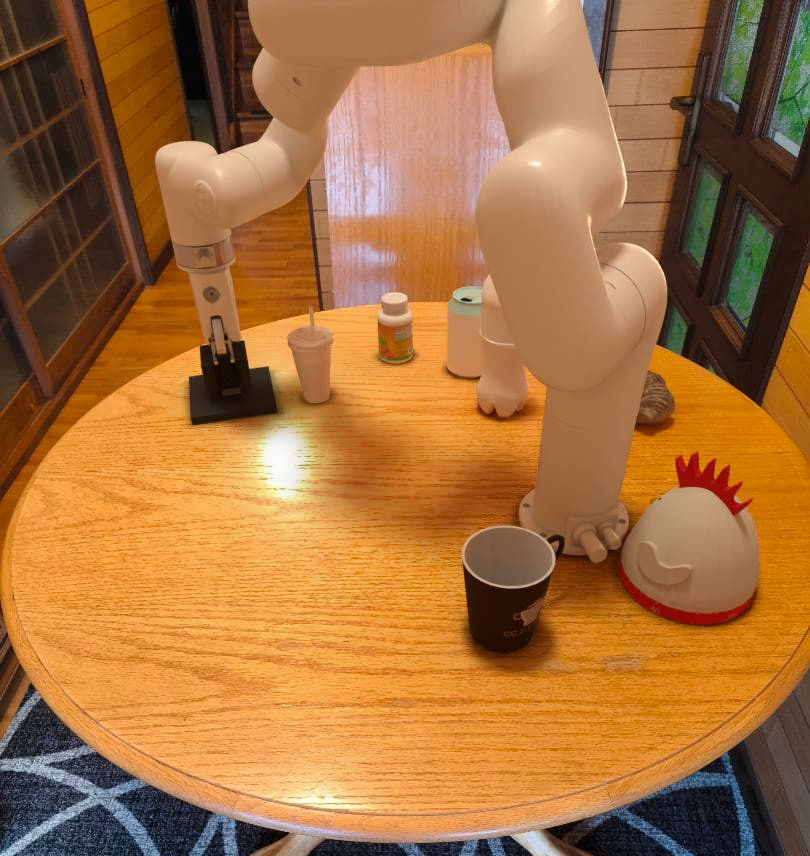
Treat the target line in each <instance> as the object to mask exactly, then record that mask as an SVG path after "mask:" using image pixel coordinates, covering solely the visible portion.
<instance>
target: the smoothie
mask: <svg viewBox="0 0 810 856" xmlns="http://www.w3.org/2000/svg"><path fill="white" fill-rule="evenodd" d="M308 312H309V313H308V314H309V322H310V325H305V326H301V327H298V328H295V329H293V330H292V331H290V332H289V333H288V334H287V339H286V340H287V347H289V349H290V350H291V353H292V354H291V355H292V357H293V361H294V365H295V369H296V373H297V377H298V380H299V385H300V388H301V392H302V396H303V399H304V401H305V402H307V403H309V404H321V403H324V402H326V401H328V400H329V399H330V387H331V386H330V385H331V364H332V363H331V361H332V357H331V356H332V345H333V344H334V341H335V340H334V334H333V332H332V330H330V329H328V328H326V327H324V326H319V325H315V324H316V323H315V315H314V314H315V313H314V305H312V304H309V305H308Z"/></svg>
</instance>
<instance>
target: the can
mask: <svg viewBox="0 0 810 856" xmlns="http://www.w3.org/2000/svg"><path fill="white" fill-rule="evenodd" d="M482 288H483V286H477V285H470V286H469V285H467V286H462V287H458V288H457V289H455V290H454V291H453V292H452V294H451V295H452V296H451V298H450V300H449V301H448V303H447V319H446V320H447V323H446V325H447V326H446V327H447V328H446V329H447V330H446V368H447V370H449V372H451V374H454V375H455V376H458V377H460V378H464V379H474V378H479V377H480V378H481V374H482V370H483V346H482V340H481V336H480V333H479V331H480V328H481V311H482V299H481V293H482Z"/></svg>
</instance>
